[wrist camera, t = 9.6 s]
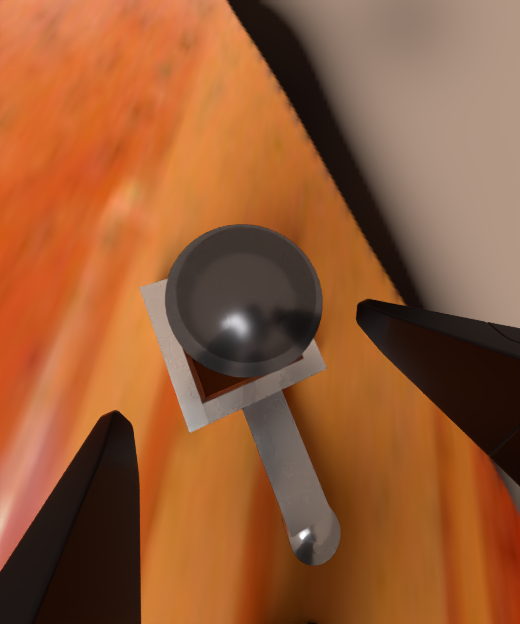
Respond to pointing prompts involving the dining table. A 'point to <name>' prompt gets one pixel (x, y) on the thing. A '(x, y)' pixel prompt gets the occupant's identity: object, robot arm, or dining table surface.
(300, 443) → the square frame with handle
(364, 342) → the dining table surface
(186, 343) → the dark grey metal cylinder
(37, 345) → the dining table surface
